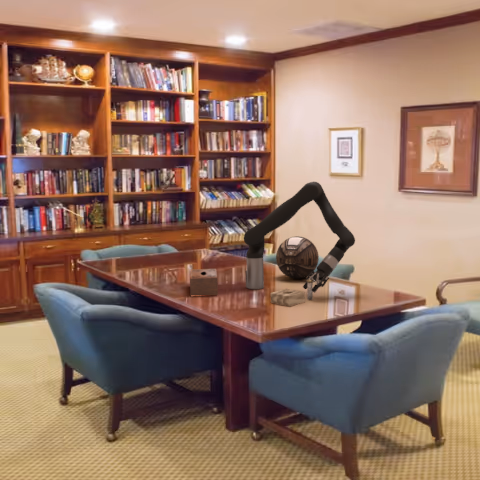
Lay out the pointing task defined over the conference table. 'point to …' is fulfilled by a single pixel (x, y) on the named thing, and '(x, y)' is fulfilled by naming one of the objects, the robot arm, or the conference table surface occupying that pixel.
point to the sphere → (297, 257)
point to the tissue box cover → (203, 282)
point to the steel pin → (310, 289)
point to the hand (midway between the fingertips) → (308, 289)
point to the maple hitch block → (287, 297)
